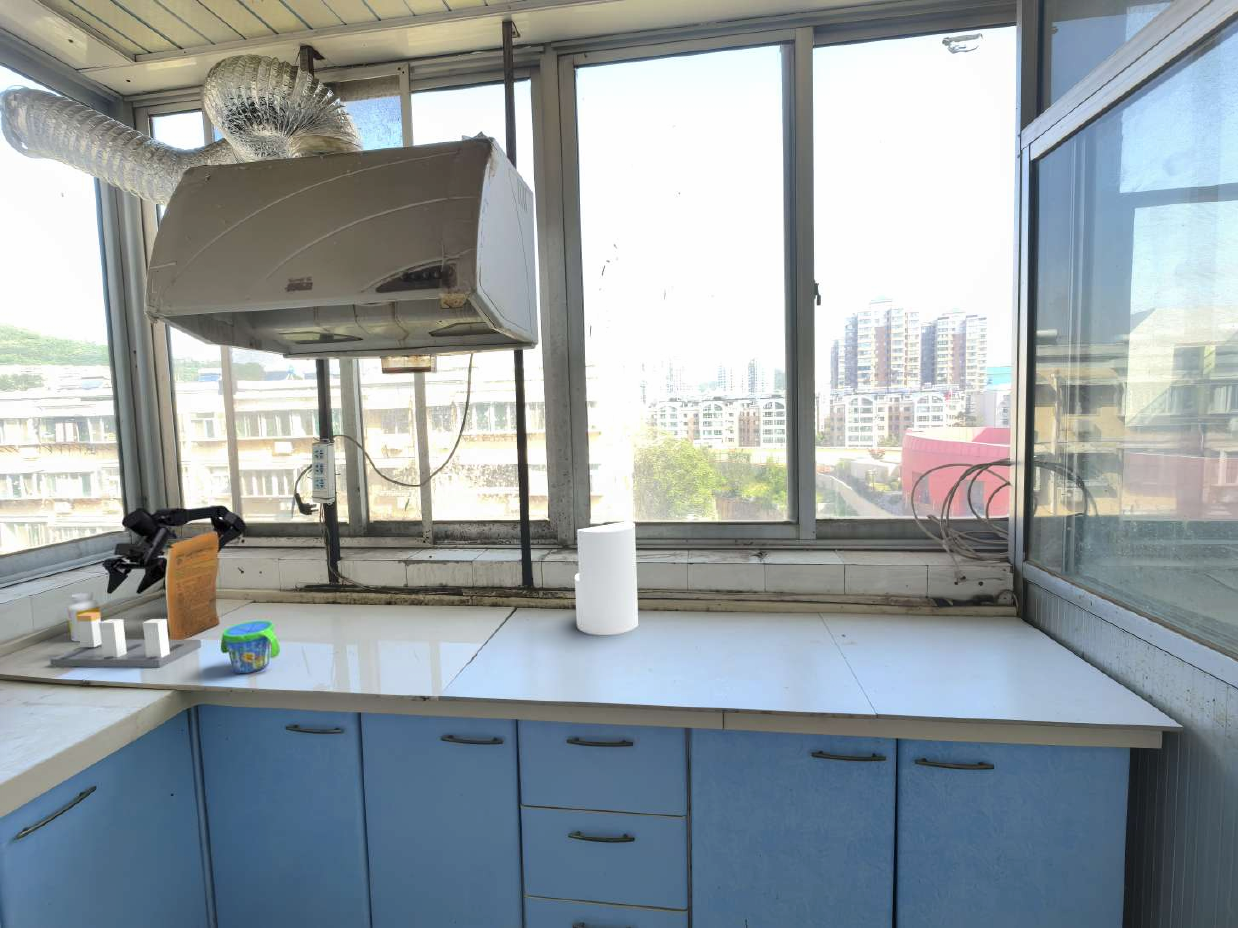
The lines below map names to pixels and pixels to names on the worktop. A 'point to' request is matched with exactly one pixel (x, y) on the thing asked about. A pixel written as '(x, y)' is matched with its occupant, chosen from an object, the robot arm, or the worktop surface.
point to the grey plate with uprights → (129, 648)
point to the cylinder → (607, 579)
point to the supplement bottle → (80, 610)
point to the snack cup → (250, 645)
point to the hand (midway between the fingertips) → (123, 593)
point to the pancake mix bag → (192, 585)
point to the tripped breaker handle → (89, 629)
